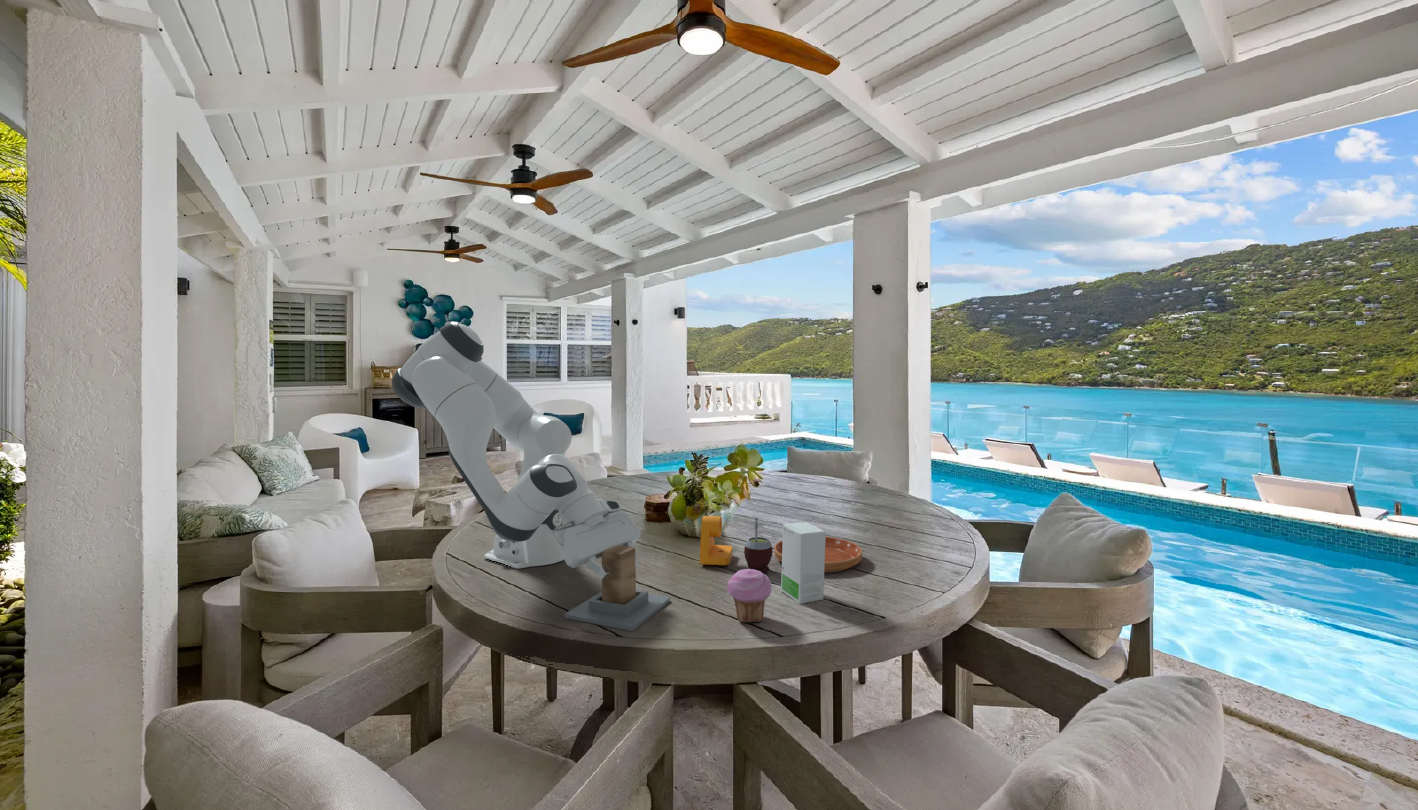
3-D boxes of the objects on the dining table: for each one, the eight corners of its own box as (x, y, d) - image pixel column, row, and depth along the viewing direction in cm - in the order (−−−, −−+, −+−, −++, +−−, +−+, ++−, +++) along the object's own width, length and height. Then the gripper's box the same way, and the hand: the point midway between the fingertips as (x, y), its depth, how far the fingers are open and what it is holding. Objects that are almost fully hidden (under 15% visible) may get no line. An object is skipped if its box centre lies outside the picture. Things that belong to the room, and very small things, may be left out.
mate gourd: (760, 564, 148) (760, 507, 148) (780, 573, 142) (780, 513, 141) (737, 570, 144) (737, 511, 144) (756, 579, 138) (756, 518, 137)
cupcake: (730, 629, 111) (730, 578, 110) (725, 611, 119) (724, 563, 119) (775, 627, 112) (775, 576, 111) (767, 609, 120) (767, 562, 120)
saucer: (845, 582, 136) (845, 567, 136) (759, 566, 148) (759, 552, 148) (872, 556, 155) (873, 543, 155) (794, 544, 167) (794, 531, 167)
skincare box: (780, 591, 130) (780, 523, 129) (805, 587, 133) (805, 520, 132) (800, 605, 122) (800, 533, 122) (826, 600, 125) (826, 529, 124)
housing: (564, 617, 117) (564, 604, 116) (608, 590, 131) (607, 578, 131) (632, 631, 110) (632, 617, 110) (670, 601, 125) (670, 588, 125)
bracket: (727, 568, 146) (727, 522, 145) (699, 567, 147) (699, 521, 147) (732, 555, 157) (732, 512, 156) (706, 554, 158) (706, 511, 157)
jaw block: (602, 607, 120) (601, 550, 119) (617, 598, 124) (616, 544, 123) (621, 611, 117) (620, 554, 117) (636, 603, 122) (635, 547, 121)
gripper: (556, 519, 115) (593, 576, 110) (624, 500, 132) (658, 548, 127) (541, 538, 117) (577, 594, 112) (609, 516, 134) (643, 564, 130)
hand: (620, 569), depth 120 cm, fingers open, 8 cm apart
